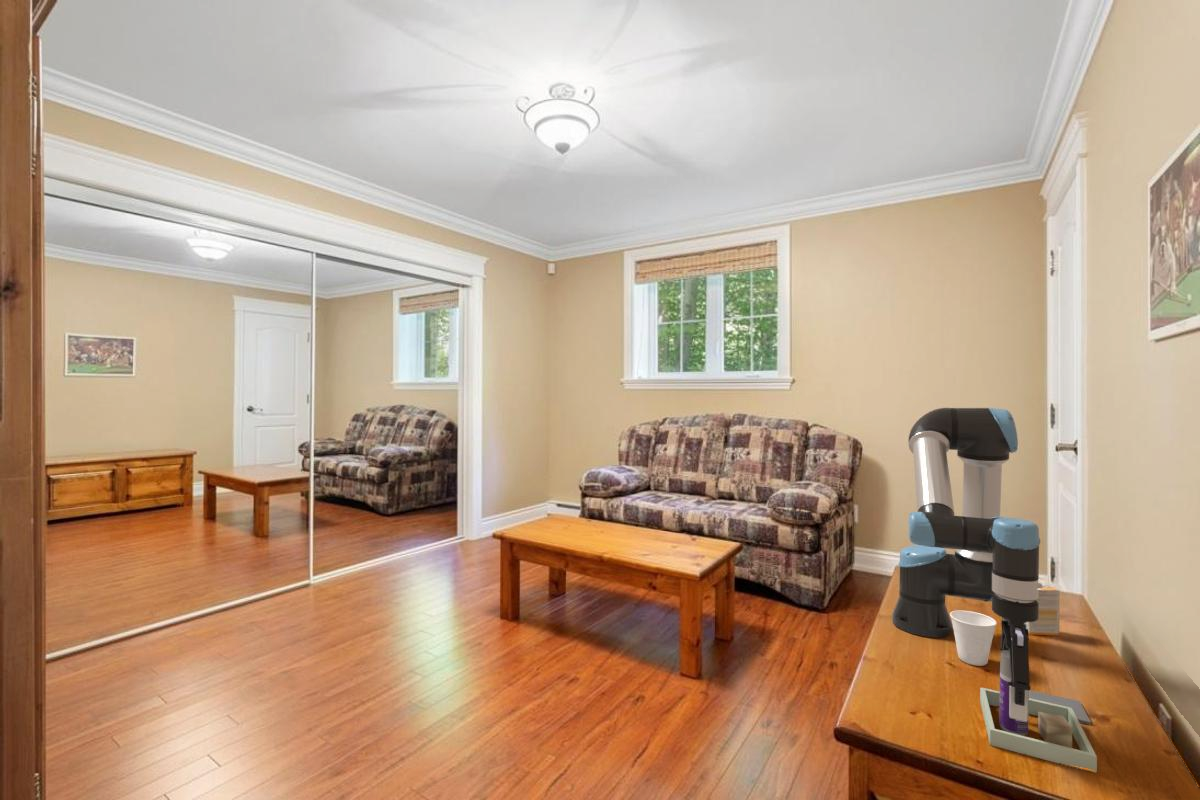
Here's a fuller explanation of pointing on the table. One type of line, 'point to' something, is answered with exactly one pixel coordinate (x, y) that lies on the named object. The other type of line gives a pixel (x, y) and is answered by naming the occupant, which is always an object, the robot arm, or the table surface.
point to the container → (1008, 700)
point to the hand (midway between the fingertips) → (1013, 705)
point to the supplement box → (1046, 613)
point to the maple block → (1055, 729)
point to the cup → (973, 636)
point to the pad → (1062, 704)
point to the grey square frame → (1038, 747)
